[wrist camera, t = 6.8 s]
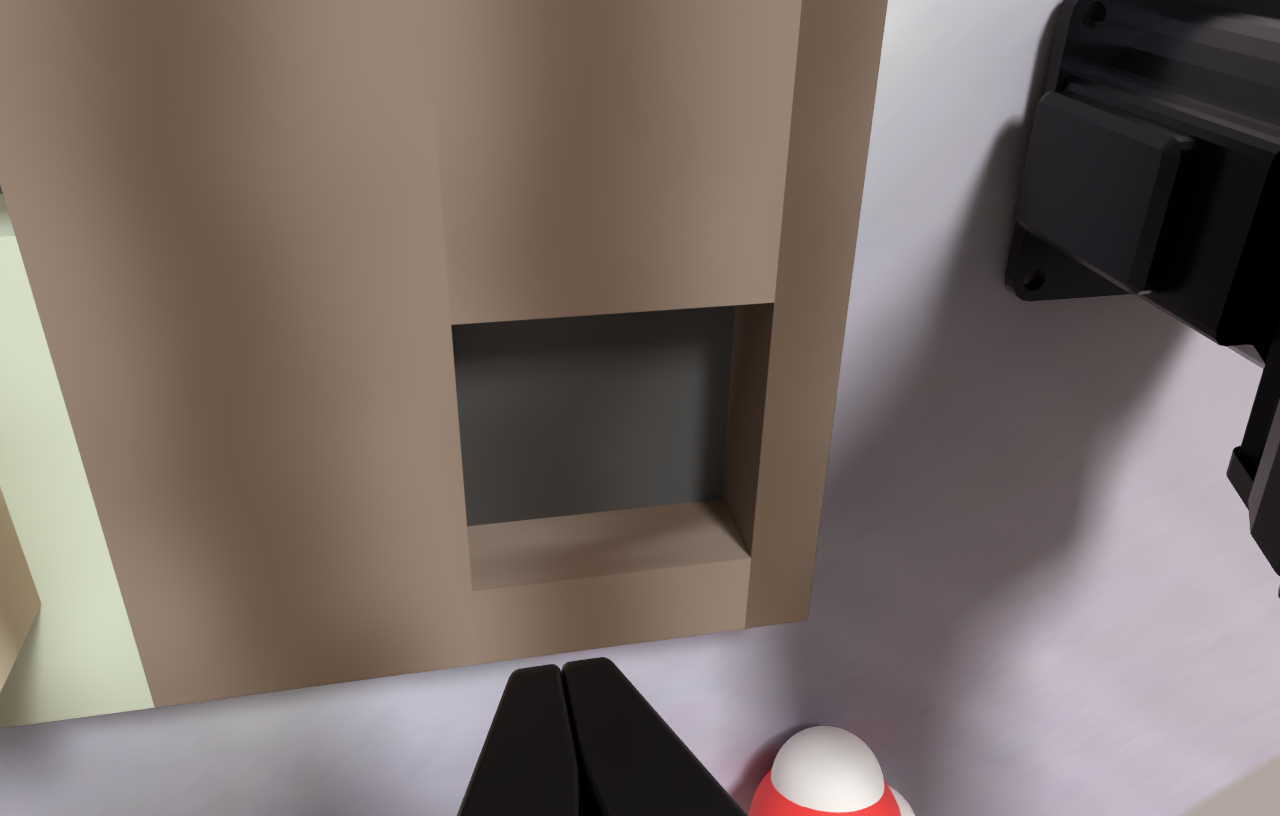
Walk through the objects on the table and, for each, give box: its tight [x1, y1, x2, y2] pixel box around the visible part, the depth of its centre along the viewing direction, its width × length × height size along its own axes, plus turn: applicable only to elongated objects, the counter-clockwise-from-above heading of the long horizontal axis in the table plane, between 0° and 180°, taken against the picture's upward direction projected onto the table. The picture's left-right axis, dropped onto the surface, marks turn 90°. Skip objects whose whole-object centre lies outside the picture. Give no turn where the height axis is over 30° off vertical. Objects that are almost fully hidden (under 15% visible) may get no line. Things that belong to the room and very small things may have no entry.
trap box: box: [0, 0, 888, 728], centre depth 17 cm, size 23×18×4 cm
